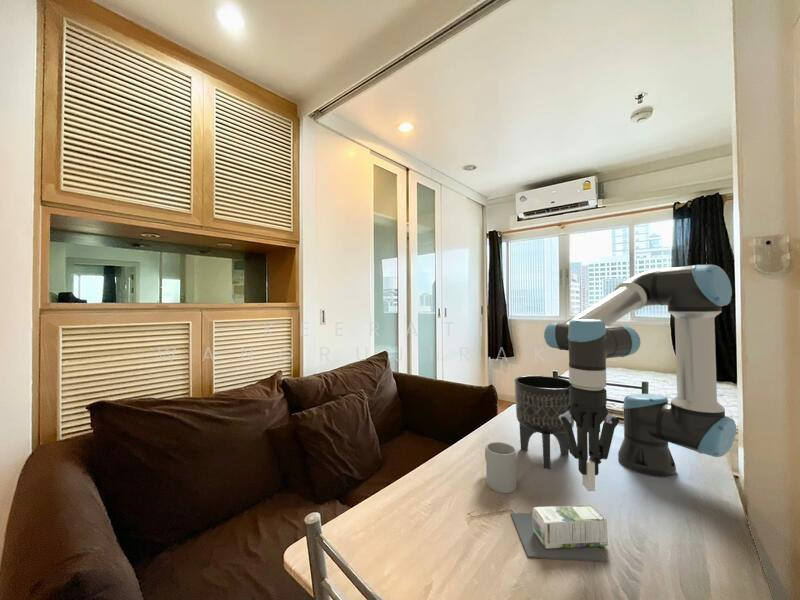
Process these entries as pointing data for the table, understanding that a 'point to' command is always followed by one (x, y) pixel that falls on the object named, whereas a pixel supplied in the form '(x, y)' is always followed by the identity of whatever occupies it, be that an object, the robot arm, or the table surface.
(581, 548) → the mat
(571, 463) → the table surface
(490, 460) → the mug
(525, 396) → the planter
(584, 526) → the syrup box
